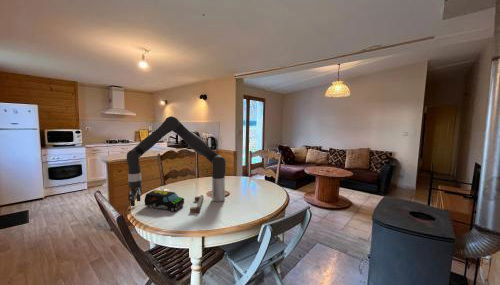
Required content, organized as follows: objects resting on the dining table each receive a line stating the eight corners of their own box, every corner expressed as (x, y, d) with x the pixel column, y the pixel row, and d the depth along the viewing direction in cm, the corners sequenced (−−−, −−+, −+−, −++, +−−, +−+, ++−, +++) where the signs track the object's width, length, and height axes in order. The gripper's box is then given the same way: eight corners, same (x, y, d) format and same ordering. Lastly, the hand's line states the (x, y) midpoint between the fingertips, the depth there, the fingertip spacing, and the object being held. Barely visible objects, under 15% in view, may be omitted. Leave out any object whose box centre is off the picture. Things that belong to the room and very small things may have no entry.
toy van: (176, 212, 131) (175, 197, 130) (143, 208, 136) (143, 193, 135) (185, 206, 141) (185, 192, 140) (154, 202, 147) (154, 188, 146)
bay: (203, 200, 151) (203, 195, 151) (199, 212, 131) (199, 206, 130) (195, 200, 151) (195, 195, 150) (190, 213, 130) (189, 207, 129)
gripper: (136, 182, 128) (137, 207, 129) (145, 176, 142) (146, 199, 143) (123, 182, 127) (124, 208, 128) (133, 176, 141) (134, 199, 142)
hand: (135, 203), depth 136 cm, fingers open, 8 cm apart
